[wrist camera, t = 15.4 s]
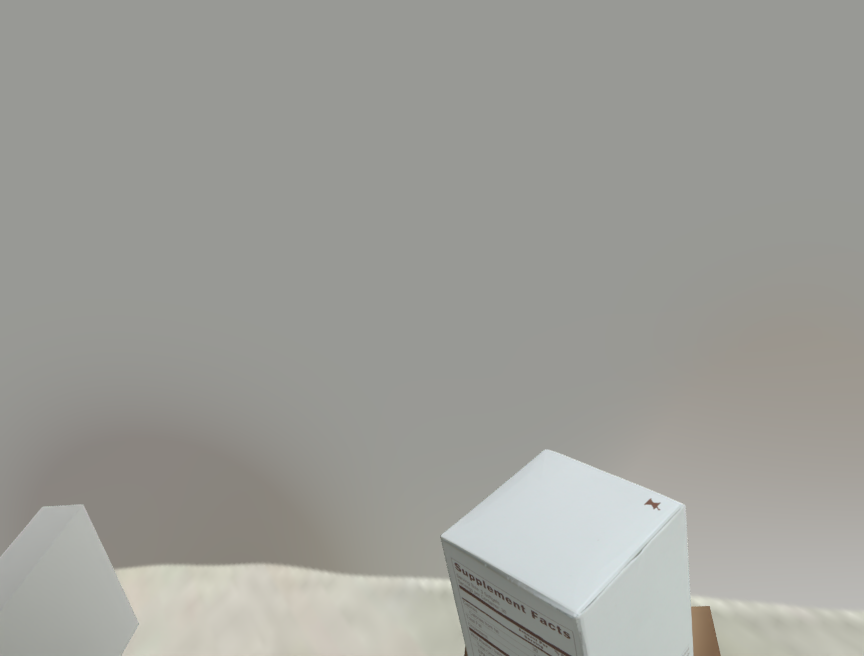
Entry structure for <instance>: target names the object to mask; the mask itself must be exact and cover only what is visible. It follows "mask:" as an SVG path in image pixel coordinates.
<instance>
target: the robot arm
mask: <svg viewBox="0 0 864 656" xmlns="http://www.w3.org/2000/svg"><path fill="white" fill-rule="evenodd" d="M138 625H139V622H138V620H137V618H136V616H135V614H134V612H133V610H132V607H131V605H130V603H129V601H128V599H127V597H126V595H125V592H124V590H123V588H122V586H121V584H120V582H119V580H118V578H117V575H116V573H115V571H114V569H113V567H112V565H111V563H110V560H109V558H108V556H107V554H106V552H105V550H104V548H103V545H102V543H101V541H100V539H99V537H98V535H97V533H96V531H95V529H94V526H93V524H92V522H91V520H90V518H89V516H88V513H87V511H86V509H85V507H84V505H82V504H81V505H64V506H48V507H42V508H41V509H40V510H39V512H38V513H37V514H36V515H35V516H34V518H33V519H32V520H31V521H30V522H29V523H28V525H27V526H26V527H25V529H23V531H22V532H21V533H20V534H19V535H18V536H17V538H16V539H15V540H14V541H13V542H12V544H11V545H10V546H9V547H8V548H7V550H6V551H5V552H4V553H3V554H2V556H1V557H0V656H121V655H122V653H123V651H124V650H125V648H126V646H127V644H128V643H129V641H130V639H131V637H132V636H133V634H134V632H135V630H136V629H137V627H138Z"/></svg>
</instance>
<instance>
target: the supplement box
mask: <svg viewBox="0 0 864 656" xmlns="http://www.w3.org/2000/svg"><path fill="white" fill-rule="evenodd" d="M440 538H441V542H442V546H443V550H444V555H445V559H446V563H447V568H448V573H449V577H450V581H451V585H452V590H453V594H454V599H455V603H456V607H457V611H458V616H459V620H460V624H461V628H462V633H463V637H464V641H465V646H466V650H467V655H468V656H693V636H692V616H691V599H690V581H689V562H688V544H687V527H686V507H685V505H684V504H682V503H680V502H677V501H675V500H673V499H671V498H668V497H666V496H664V495H662V494H659V493H657V492H654V491H652V490H650V489H647V488H645V487H642V486H640V485H637V484H635V483H632V482H630V481H627V480H625V479H622V478H620V477H617V476H615V475H612V474H609V473H607V472H604V471H602V470H600V469H597V468H595V467H592V466H590V465H587V464H585V463H582V462H579V461H577V460H574V459H572V458H569V457H567V456H565V455H562V454H560V453H557V452H554V451H551V450H547V449H546V450H543V451H542V452H541V453H540V454H539V455H538V456H536V457H535V458H534V459H533V460H531V461H530V462H529V463H528V464H527V465H525V466H524V467H523V468H522V469H521V470H520V471H518V472H517V473H516V474H515V475H514V476H512V477H511V478H510V479H509V480H507V481H506V482H505V483H504V484H503V485H501V486H500V487H499V488H498V489H496V490H495V491H494V492H493V493H492V494H490V495H489V496H488V497H487V498H486V499H484V500H483V501H482V502H481V503H480V504H479V505H477V506H476V507H475V508H473V509H472V510H471V511H470V512H469V513H467V514H466V515H465V516H464V517H462V518H461V519H460V520H459V521H457V522H456V523H455V524H454V525H453V526H452V527H450V528H449V529H448V530H446V531H445V532H444V533H443V534H441V536H440Z"/></svg>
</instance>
